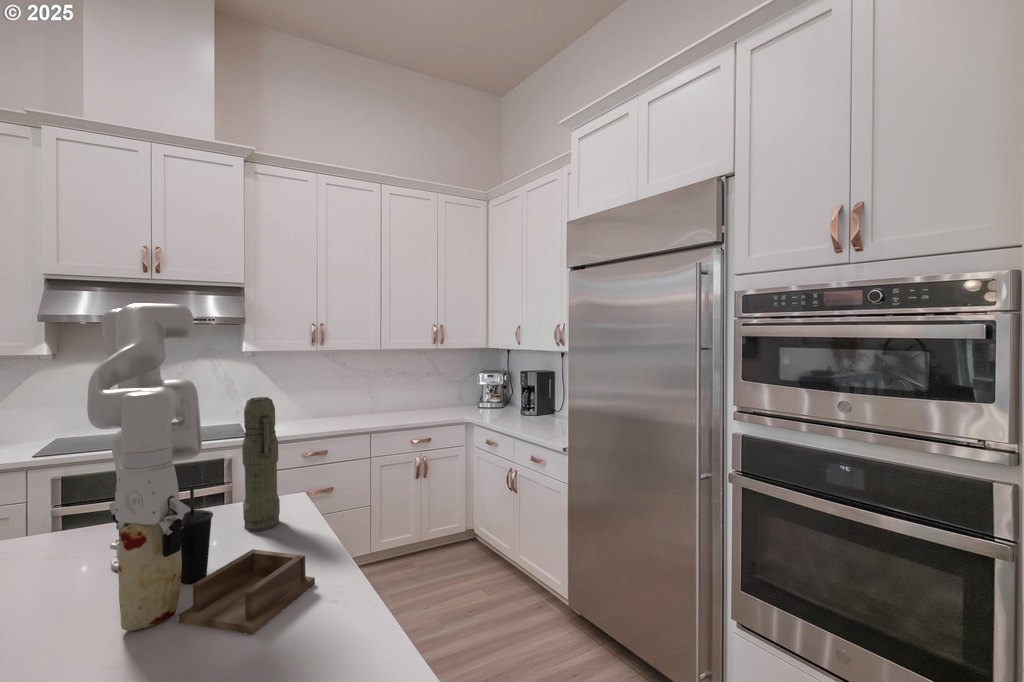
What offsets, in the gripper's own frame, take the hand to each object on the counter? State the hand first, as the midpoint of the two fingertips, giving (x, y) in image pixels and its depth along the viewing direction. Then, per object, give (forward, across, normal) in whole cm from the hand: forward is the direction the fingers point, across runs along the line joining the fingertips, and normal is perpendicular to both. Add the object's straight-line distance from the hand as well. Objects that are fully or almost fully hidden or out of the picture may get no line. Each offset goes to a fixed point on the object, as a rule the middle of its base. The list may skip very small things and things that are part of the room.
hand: (150, 551), depth 93 cm
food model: (+14, -1, 0) cm, 14 cm away
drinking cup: (+13, -7, +16) cm, 22 cm away
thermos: (+13, -14, +44) cm, 48 cm away
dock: (+14, +12, +10) cm, 21 cm away
